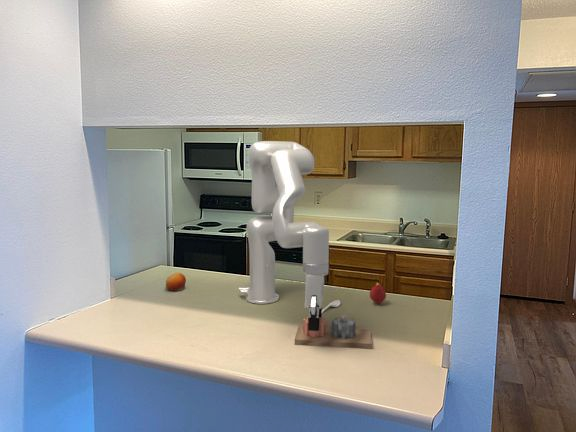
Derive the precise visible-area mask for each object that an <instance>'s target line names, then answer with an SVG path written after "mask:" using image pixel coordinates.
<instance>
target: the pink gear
mask: <svg viewBox="0 0 576 432" xmlns="http://www.w3.org/2000/svg"><path fill="white" fill-rule="evenodd" d="M308 317H309V315H308V316H306V318H303V321H302V324H303V325H302V326H303V333H305V335H306V336H312V337H318V336H320V337H322V336H324V334H326V329H327V327H328V325H327V321H328V320H327V319H325V317H323V316H321V317H320V322H319V331H309V330H308Z"/></svg>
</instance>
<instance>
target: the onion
mask: <svg viewBox="0 0 576 432" xmlns="http://www.w3.org/2000/svg"><path fill="white" fill-rule="evenodd" d="M369 297H370V299H371V300H372V302H373V303H374V304H375V305H380V304H382V303H383V302H384V301H385V300H386V298H387V292H386V290H385V289H384V287H383V286H382V285H381V284H380V283H378V282H376V283H375V285H374V286H373V287H372V288H371V290H370V291H369Z"/></svg>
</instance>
